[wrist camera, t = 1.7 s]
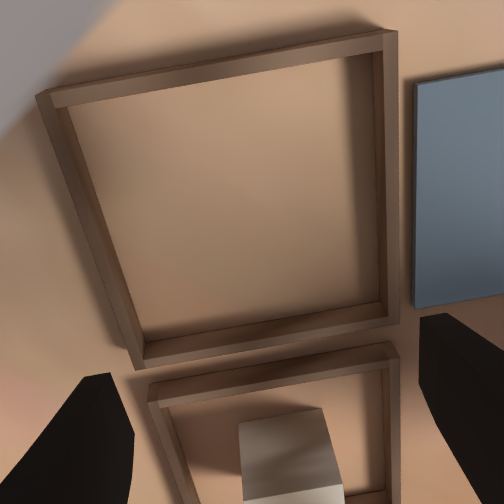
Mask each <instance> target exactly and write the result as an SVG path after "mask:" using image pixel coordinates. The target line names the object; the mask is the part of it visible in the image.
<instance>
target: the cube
mask: <svg viewBox="0 0 504 504" xmlns="http://www.w3.org/2000/svg"><path fill="white" fill-rule="evenodd" d="M238 431H239V445H240V460H241V474H242V488H243V502H244V504H345V500H344V490H343V482H342V479H341V475H340V472H339V468H338V464H337V461H336V457H335V454H334V450H333V446H332V443H331V439H330V436H329V432H328V428H327V425H326V421H325V418H324V414H323V410H322V408H320V409H315V410H309V411H303V412H298V413H292V414H286V415H281V416H275V417H269V418H264V419H258V420H252V421H247V422H241V423H238Z"/></svg>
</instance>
